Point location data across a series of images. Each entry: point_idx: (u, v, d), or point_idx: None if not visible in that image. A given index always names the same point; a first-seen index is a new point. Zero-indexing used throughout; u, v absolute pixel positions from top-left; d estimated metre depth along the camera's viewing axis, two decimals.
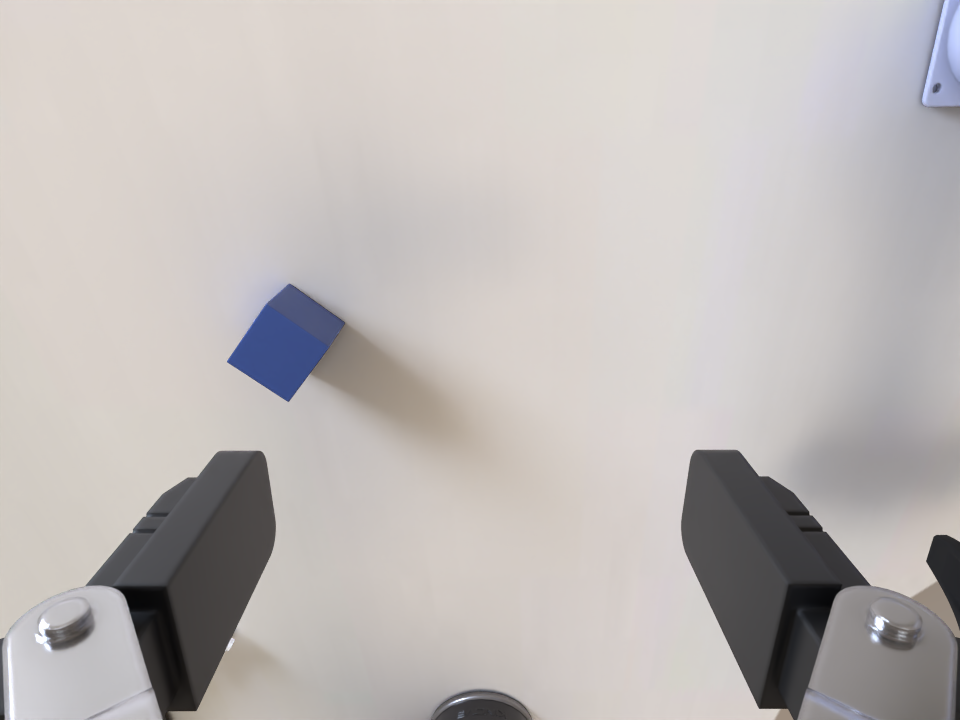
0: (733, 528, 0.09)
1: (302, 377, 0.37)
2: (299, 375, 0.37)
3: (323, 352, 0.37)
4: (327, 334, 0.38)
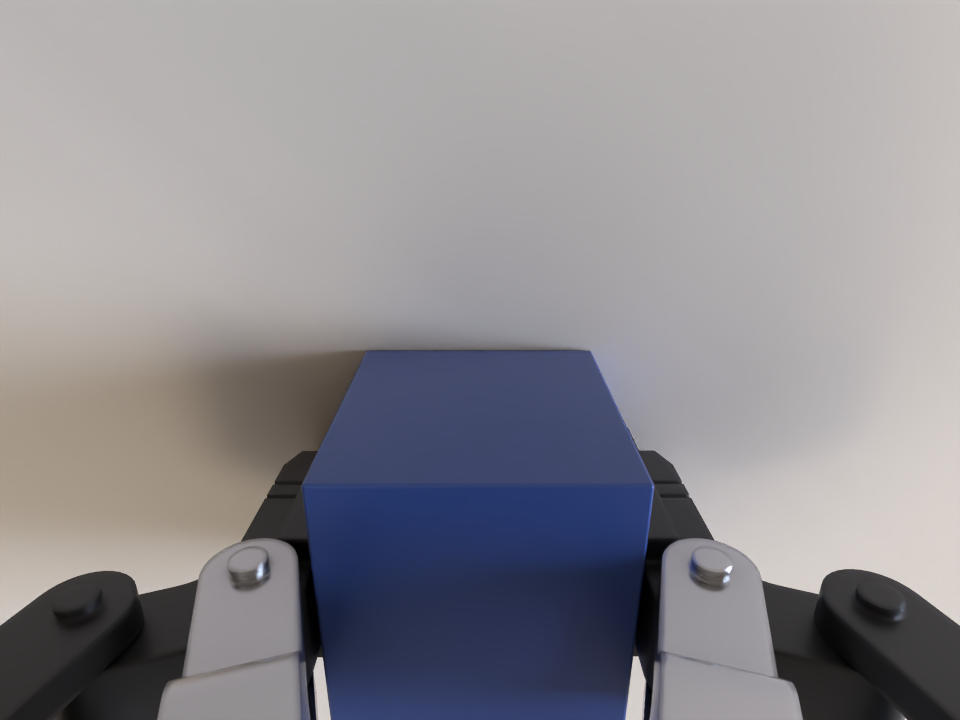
0: None
1: (333, 610, 0.08)
2: (345, 609, 0.08)
3: None
4: None
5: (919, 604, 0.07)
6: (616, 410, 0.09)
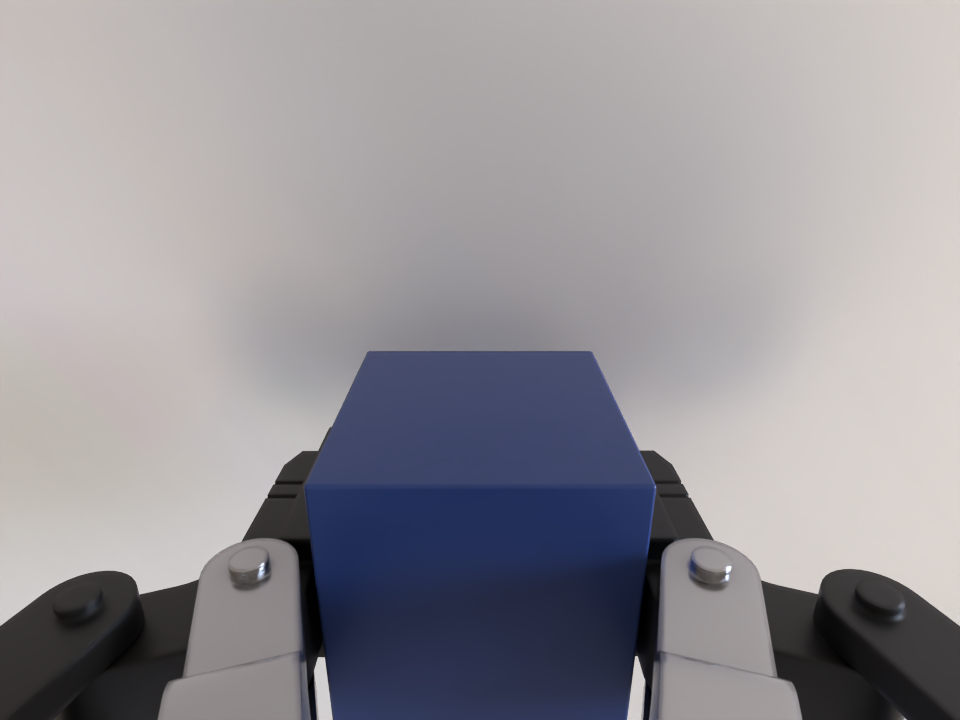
0: None
1: (335, 611, 0.08)
2: (347, 610, 0.08)
3: None
4: None
5: (918, 604, 0.07)
6: (618, 411, 0.09)
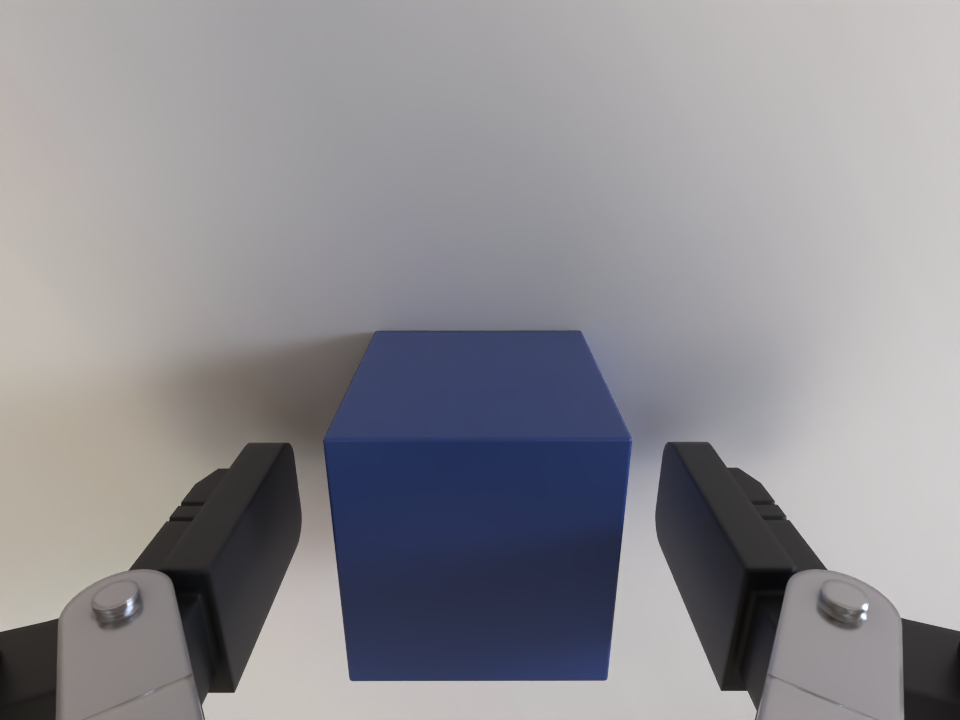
0: (699, 517, 0.10)
1: (350, 553, 0.09)
2: (361, 552, 0.09)
3: (352, 659, 0.10)
4: None
5: None
6: (601, 380, 0.11)
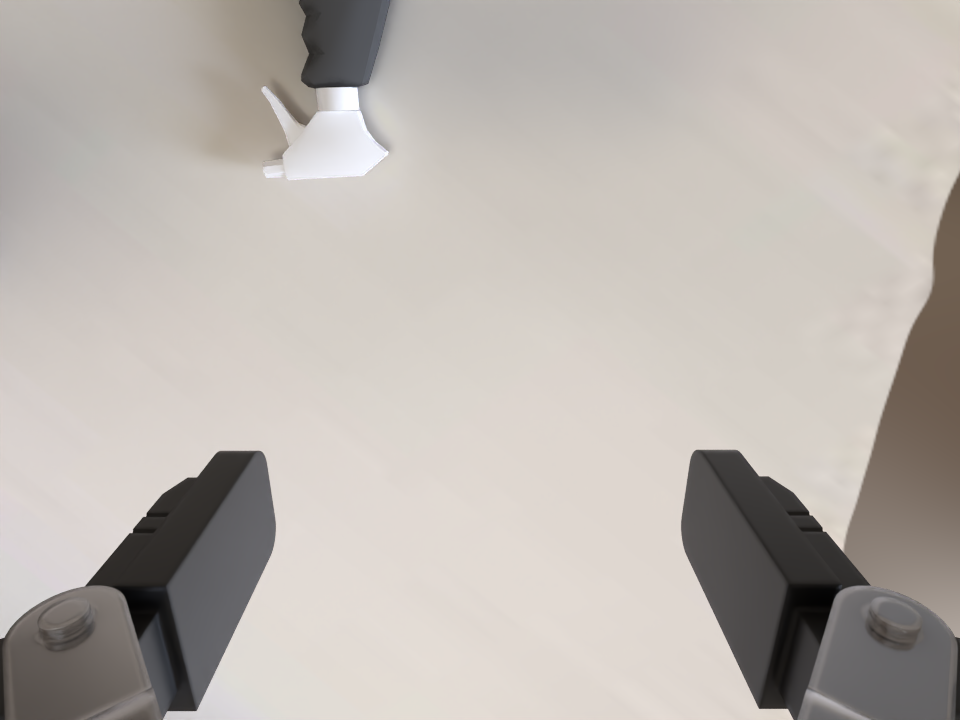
0: (733, 528, 0.09)
1: None
2: None
3: None
4: None
5: None
6: None
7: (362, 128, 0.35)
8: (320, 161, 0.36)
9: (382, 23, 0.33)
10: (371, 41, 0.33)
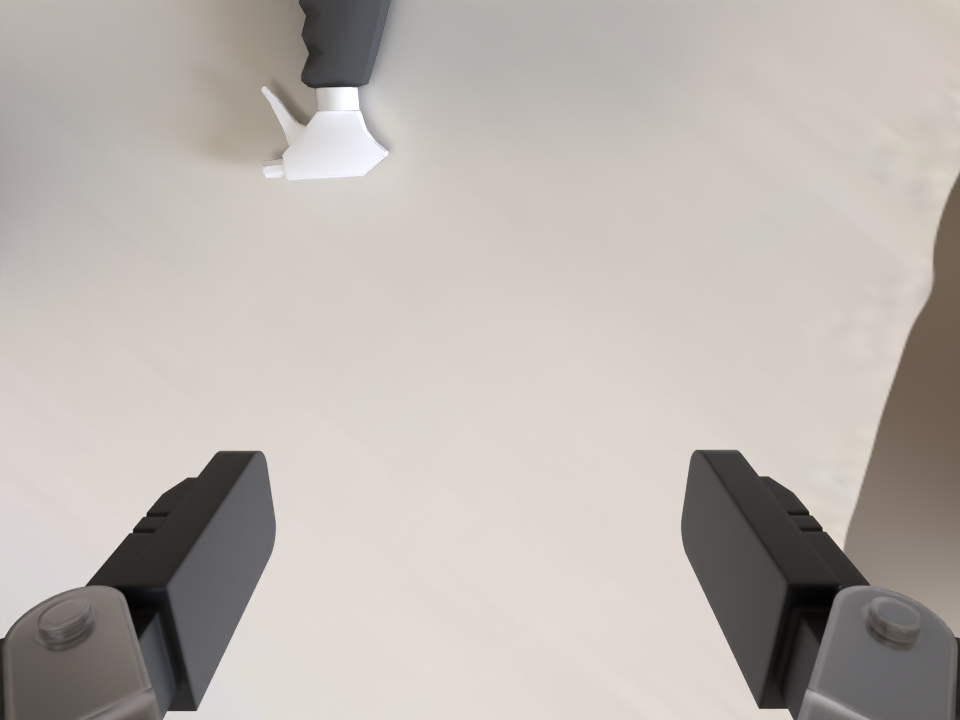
0: (733, 528, 0.09)
1: None
2: None
3: None
4: None
5: None
6: None
7: (362, 128, 0.35)
8: (320, 161, 0.36)
9: (382, 23, 0.33)
10: (371, 41, 0.33)
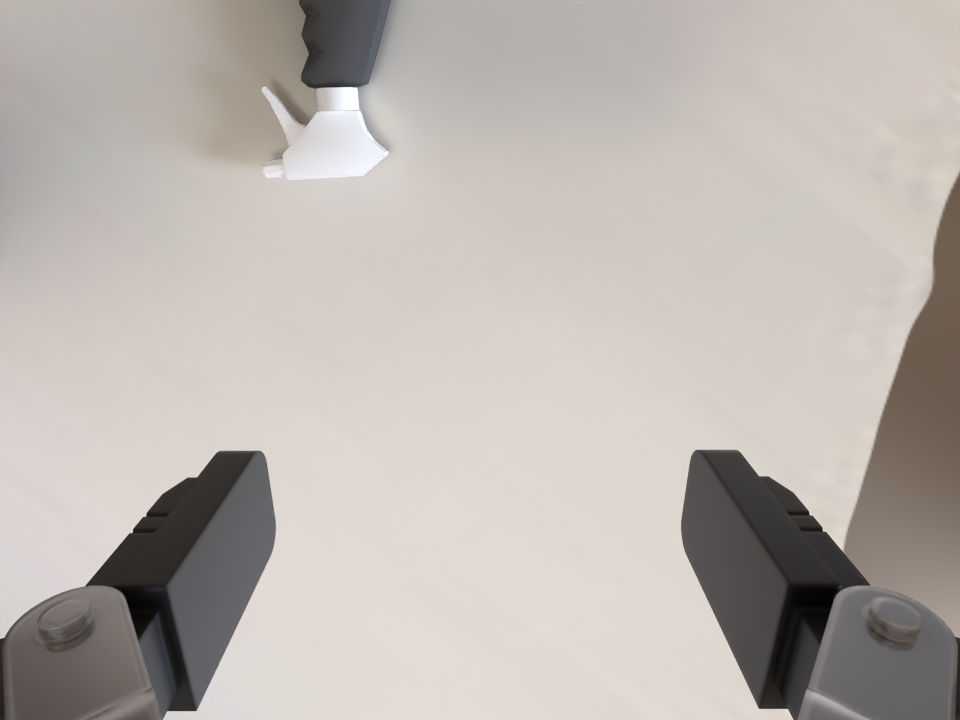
0: (733, 528, 0.09)
1: None
2: None
3: None
4: None
5: None
6: None
7: (362, 128, 0.35)
8: (320, 161, 0.36)
9: (382, 23, 0.33)
10: (371, 41, 0.33)
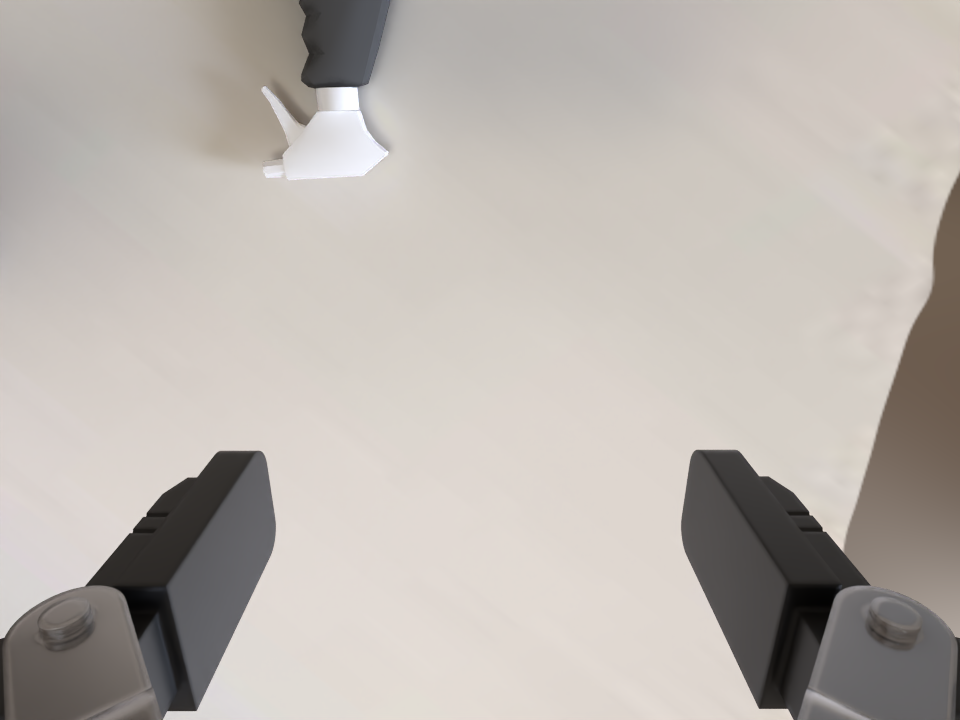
0: (733, 528, 0.09)
1: None
2: None
3: None
4: None
5: None
6: None
7: (362, 128, 0.35)
8: (320, 161, 0.36)
9: (382, 23, 0.33)
10: (371, 41, 0.33)
